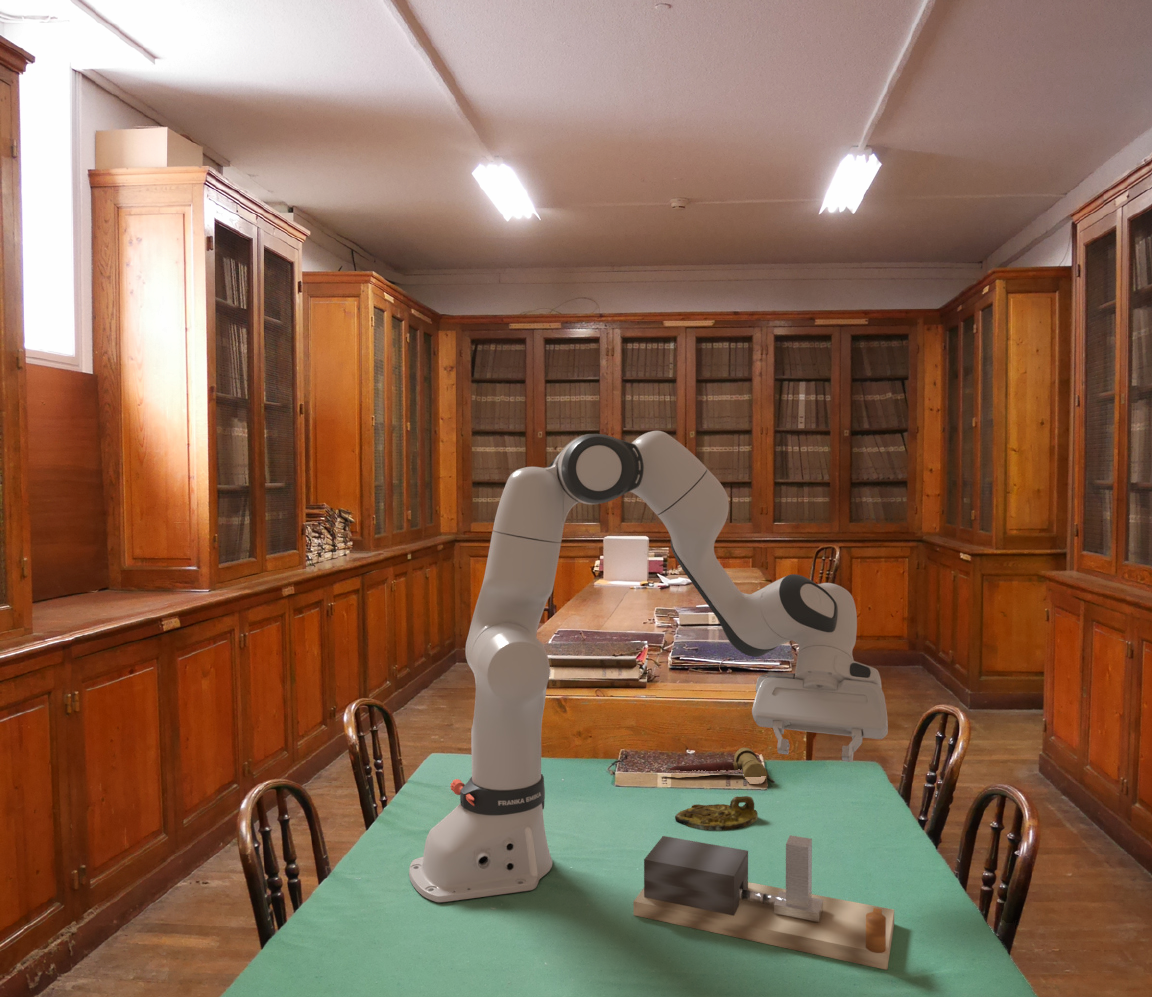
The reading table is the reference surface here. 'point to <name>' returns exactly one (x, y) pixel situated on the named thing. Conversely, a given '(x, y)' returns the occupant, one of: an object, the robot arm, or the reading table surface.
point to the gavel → (732, 764)
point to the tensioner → (753, 905)
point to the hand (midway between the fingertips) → (814, 756)
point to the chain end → (793, 884)
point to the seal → (720, 815)
